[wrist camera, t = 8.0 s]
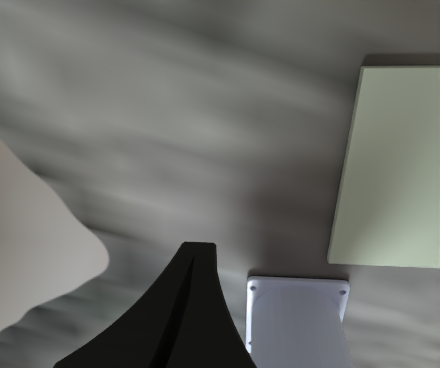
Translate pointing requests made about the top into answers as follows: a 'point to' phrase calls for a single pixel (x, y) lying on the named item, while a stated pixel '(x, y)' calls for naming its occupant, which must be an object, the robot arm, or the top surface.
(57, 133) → the top surface
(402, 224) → the base board
